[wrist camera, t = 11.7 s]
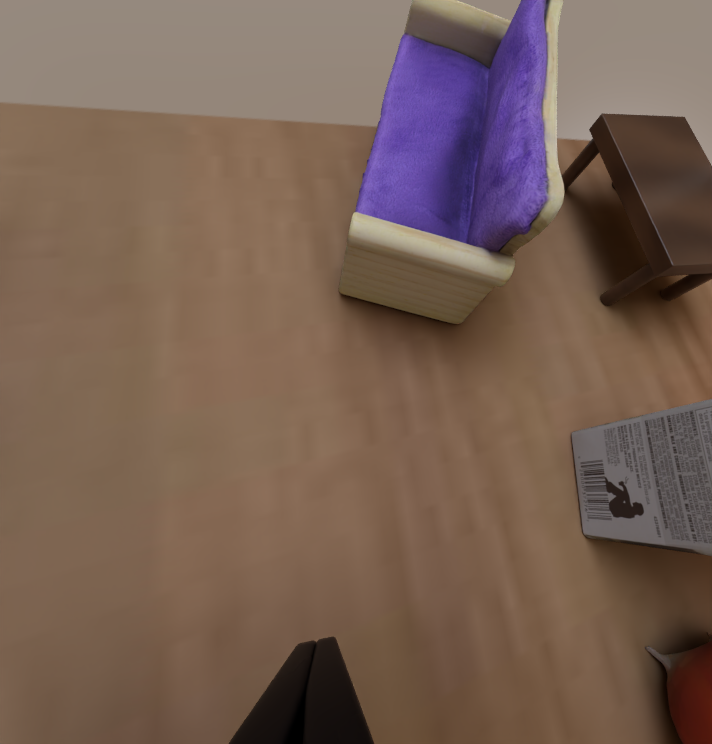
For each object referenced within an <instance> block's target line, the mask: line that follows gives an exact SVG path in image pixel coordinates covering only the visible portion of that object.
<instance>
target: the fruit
mask: <svg viewBox="0 0 712 744" xmlns="http://www.w3.org/2000/svg"><path fill="white" fill-rule="evenodd" d="M707 634H708V633H707ZM708 636H709V640H710V642H708V643H706V644H704V645H702V646H699V647H697V648H694V649H692V650H688V651H685V652H681V653H674V654H668V655H661V654H659V653H658V652H657V651H655V650H654V649H652V648H651V647H649V646H648V648H646V650H647V651H649V652H650V653H651V654H652V655H653V656H655V657H656V658H657V659H658V660H659V661H660V662H662V663H663V665H664V666H665V668H666V671H667V675H668V680H667V692H668V701H669V708H670V714H671V717H672V720H673V722H674V725H675V728H676V730H677V733H678V735H679V738H680V739H681V741H682V743H683V744H712V635H710V634H708Z"/></svg>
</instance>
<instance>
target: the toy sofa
mask: <svg viewBox="0 0 712 744" xmlns="http://www.w3.org/2000/svg"><path fill="white" fill-rule="evenodd" d="M563 1H564V0H521V3H520V4H519V7H518V9H517V11H516V13H515V15H514V17H513V19H512V21H510V20H507V19H504V18H501V17H499V16H496V15H494V14H491V13H489V12H486V11H484V10H480V9H478V8H475V7H473V6H470V5H467V4H465V3H462V2H459V1H457V0H412V4H411V8H410V11H409V15H408V19H407V24H406V27H405V31H404V35H403V36H402V38H401V41H400V44H399V48H398V52H397V55H396V59H395V63H394V65H393V68H392V72H391V75H390V78H389V81H388V84H387V88H386V91H385V95H384V100H383V104H382V109H381V118H380V121H379V123H378V129H377V133H376V135H375V140H374V144H373V146H372V149H371V154H370V157H369V159H368V160H367V168H366V171H365V173H363V182H362V185H361V188H360V191H359V198H358V202H357V206H356V211H355V212H354V213H353V216H352V220H351V224H350V228H349V232H348V238H347V247H346V252H345V257H344V262H343V268H342V273H341V278H340V284H339V292H340V293H342V294H344V295H348V296H352V297H355V298H359V299H362V300H366V301H370V302H373V303H377V304H381V305H385V306H389V307H392V308H396V309H400V310H403V311H407V312H411V313H414V314H418V315H422V316H426V317H429V318H433V319H437V320H441V321H445V322H449V323H453V324H460V323H462V322H463V321H464V320H465V319H466V318H467V317H468V315H469V314H470V313H471V312H472V311H473V310H474V309H475V308H476V307H477V306H478V304H479V303H480V302H481V301H482V300H483V299H484V298H485V297H486V295H487V294H488V293H489V292H490V291H491V290H492V289H493V288H494V287H495V286H497V287H502V286H503V285H505V284H506V283H507V282H508V280H509V278H510V276H511V275H512V272H513V270H514V266H515V259H514V258H513V257H512V256H513V254H514V253H515V252H516V251H517V250H518V249H519V248H520V247H521V246H523V245H525V244H526V243H528V242H529V241H530V240H532V239H533V238H534V237H536V236H537V235H538V234H540V233H541V232H542V231H543V230H544V229H545V228H546V227H547V226H548V225H549V224H550V223H551V222H552V220H553V219H554V218H555V217H556V215H557V213H558V211H559V209H560V207H561V205H562V203H563V199H564V184H563V180H562V176H561V173H560V169H559V166H558V159H557V104H556V103H557V64H558V54H557V53H558V27H559V19H560V14H561V10H562V6H563Z"/></svg>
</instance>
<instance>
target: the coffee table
mask: <svg viewBox="0 0 712 744" xmlns="http://www.w3.org/2000/svg"><path fill="white" fill-rule="evenodd" d="M589 130H590V132H591V135H592V137H593V139H592V140H591V141H590V142H589V144H588V145H587V146H586V147H585V148H584V150H583V151H582V152H581V153H580V154H579V156H578V157H577V158H576V159H575V160H574V162H573V163H572V164H571V165H570V167H569V168H568V169H567V170H566V171H565V173H564V174H563V175H562V180H563V184H564V190H566V189H567V188H568V187H569V186H570V185H571V184H572V183H573V182H574V180H575V179H576V178H577V177H578V176H579V175H580V174H581V173H582V171H583V170H584V169H585V168H586V167H587V166H588V165H589V163H590V162H591V161H592V160H593V159H594V158H595V157H596V156H597V154H598V153H599V152H600V155H601V157H602V159H603V161H604V164H605V166H606V168H607V170H608V173H609V175H610V177H611V179H612V185H613V187H614V188H615V189H616V190H617V193H618V195H619V197H620V199H621V202H622V204H623V206H624V208H625V211H626V213H627V215H628V217H629V219H630V222H631V224H632V226H633V228H634V231H635V233H636V235H637V237H638V240H639V242H640V244H641V246H642V249H643V251H644V253H645V255H646V257H647V260H648V262H649V263H648V264H647V265H645V266H644V267H642V268H641V269H639V270H638V271H636V272H635V273H633V274H632V275H630V276H629V277H627V278H626V279H624V280H623V281H621V282H620V283H618V284H617V285H615V286H613V287H612V288H610V289H609V290H607V291H606V292H604V293H603V294H602V295H601V297H600V299H601V301H602V303H603V304H605V305H612V304H613V303H615V302H617V301H618V300H620V299H622V298H623V297H625V296H626V295H628V294H630V293H631V292H633V291H635V290H636V289H638V288H640V287H641V286H643V285H644V284H646V283H648V282H649V281H651V280H653V279H654V278H656V277H658V276H674V275H688V276H686V277H684V278H682V279H681V280H679V281H677V282H675V283H673V284H672V285H670V286H668V287H666V288H665V289H663V290H662V291H661V296H662V297H663V298H664V299H665V300H667V301H671V300H673V299H675V298H677V297H678V296H680V295H682V294H684V293H686V292H688V291H690V290H692V289H694V288H696V287H698V286H699V285H701V284H703V283H705V282H707V281H709V280H711V279H712V166H711V164H710V162H709V160H708V159H707V157H706V155H705V153H704V151H703V150H702V148H701V146H700V144H699V142H698V140H697V139H696V137H695V135H694V133H693V132H692V130H691V128H690V126H689V124H688V122H687V121H686V119H685V117H673V116H648V115H623V114H601V115H600V117H599V118H598V119H597V120H596V122H595V123H594V124H593V125H592V127H591V128H590V129H589Z"/></svg>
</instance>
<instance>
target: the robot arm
mask: <svg viewBox="0 0 712 744" xmlns="http://www.w3.org/2000/svg"><path fill="white" fill-rule="evenodd" d="M229 744H374V742H373V739H372V736H371V734H370V731H369V728H368V725H367V723H366V720H365V717H364V714H363V712H362V709H361V706H360V703H359V701H358V698H357V695H356V692H355V690H354V687H353V684H352V681H351V679H350V676H349V673H348V671H347V668H346V665H345V662H344V660H343V657H342V654H341V651H340V649H339V646H338V643H337V640H336V638H335V637H328V638H323V639H319V640H318V641H317V642H316V641H309V642H304V643H300V644H298V645H297V646H296V647H295V649H294V650H293V652H292V653H291V655H290V656H289V657H288V659H287V660H286V662H285V663H284V665H283V666H282V667H281V669H280V670H279V672H278V673H277V675H276V676H275V678H274V679H273V680H272V682H271V683H270V685H269V686H268V688H267V689H266V691H265V692H264V693H263V695H262V696H261V698H260V699H259V701H258V702H257V703H256V705H255V706H254V708H253V709H252V711H251V712H250V714H249V715H248V716H247V718H246V719H245V721H244V722H243V724H242V725H241V726H240V728H239V729H238V731H237V732H236V734H235V735H234V737H233V738H232V739H231V741H230V742H229Z"/></svg>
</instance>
